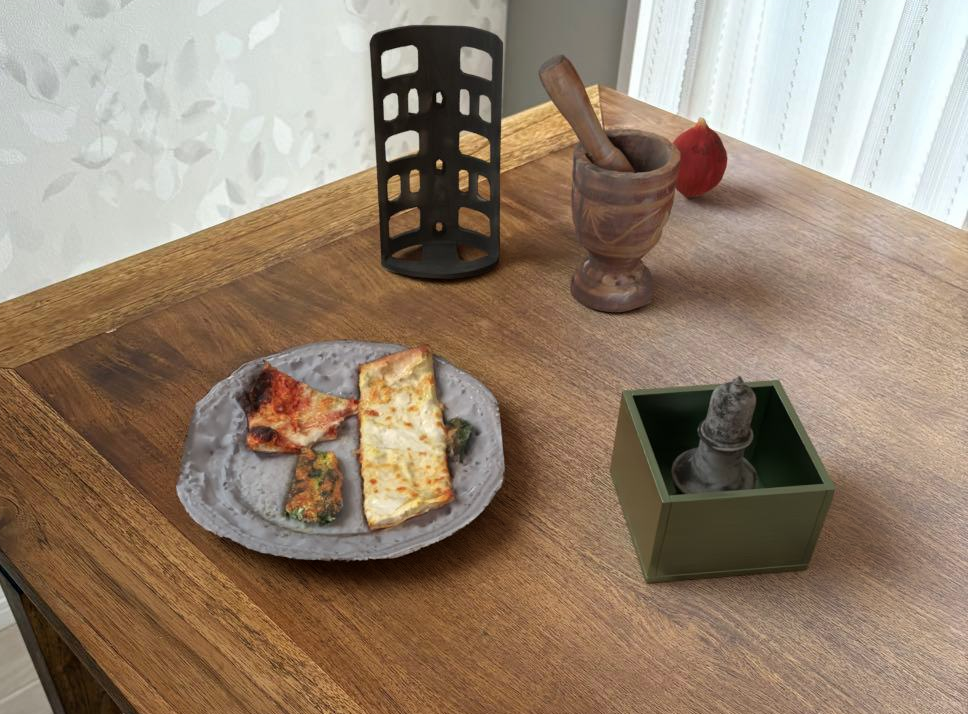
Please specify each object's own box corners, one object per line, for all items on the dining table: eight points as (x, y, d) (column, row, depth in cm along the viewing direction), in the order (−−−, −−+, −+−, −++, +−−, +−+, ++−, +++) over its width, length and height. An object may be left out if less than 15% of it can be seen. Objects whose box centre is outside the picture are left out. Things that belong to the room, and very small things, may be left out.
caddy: (756, 460, 83) (779, 379, 78) (807, 570, 75) (836, 489, 70) (609, 471, 82) (622, 390, 77) (645, 583, 75) (662, 502, 69)
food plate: (210, 359, 92) (204, 323, 89) (492, 357, 92) (493, 321, 89) (163, 585, 75) (154, 549, 72) (510, 582, 75) (513, 546, 72)
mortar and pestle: (533, 321, 95) (551, 93, 81) (521, 266, 101) (535, 44, 87) (666, 316, 96) (707, 88, 82) (646, 261, 102) (681, 40, 88)
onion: (730, 196, 110) (747, 118, 104) (697, 218, 107) (713, 140, 101) (681, 176, 113) (695, 99, 107) (648, 197, 110) (660, 119, 104)
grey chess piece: (765, 519, 78) (807, 384, 69) (704, 554, 76) (739, 418, 67) (706, 472, 81) (739, 337, 73) (646, 504, 79) (672, 369, 70)
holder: (383, 286, 99) (375, 51, 86) (373, 249, 104) (364, 22, 91) (505, 277, 100) (515, 43, 87) (488, 240, 106) (496, 16, 93)
